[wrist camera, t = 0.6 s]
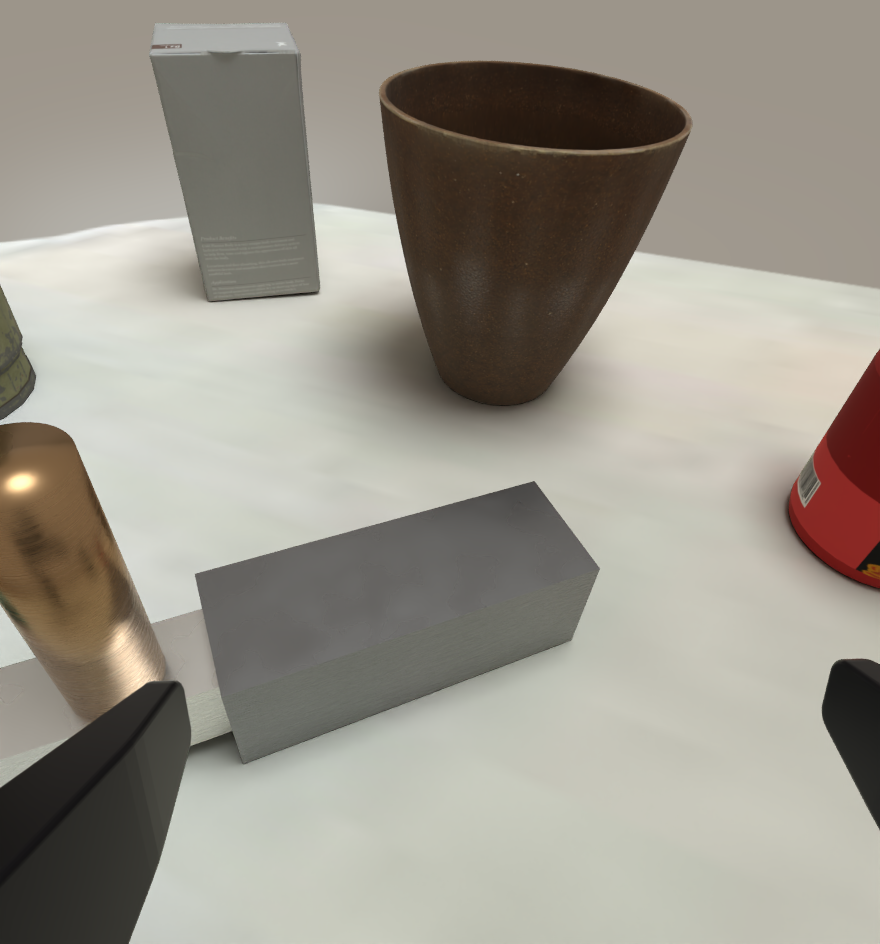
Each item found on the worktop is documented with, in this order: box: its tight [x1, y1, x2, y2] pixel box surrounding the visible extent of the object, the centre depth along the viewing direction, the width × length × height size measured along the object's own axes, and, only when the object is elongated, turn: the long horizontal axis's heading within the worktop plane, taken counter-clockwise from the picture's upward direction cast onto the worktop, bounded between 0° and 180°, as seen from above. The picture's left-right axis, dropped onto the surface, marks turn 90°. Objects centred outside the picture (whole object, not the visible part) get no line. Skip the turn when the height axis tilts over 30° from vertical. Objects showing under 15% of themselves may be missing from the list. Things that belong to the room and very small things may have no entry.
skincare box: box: [149, 23, 320, 301], centre depth 43 cm, size 8×7×16 cm
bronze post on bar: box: [0, 422, 232, 787], centre depth 20 cm, size 22×3×13 cm, turn 114°
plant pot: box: [379, 61, 693, 405], centre depth 37 cm, size 15×15×16 cm
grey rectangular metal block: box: [195, 481, 600, 764], centre depth 25 cm, size 14×5×5 cm, turn 114°
